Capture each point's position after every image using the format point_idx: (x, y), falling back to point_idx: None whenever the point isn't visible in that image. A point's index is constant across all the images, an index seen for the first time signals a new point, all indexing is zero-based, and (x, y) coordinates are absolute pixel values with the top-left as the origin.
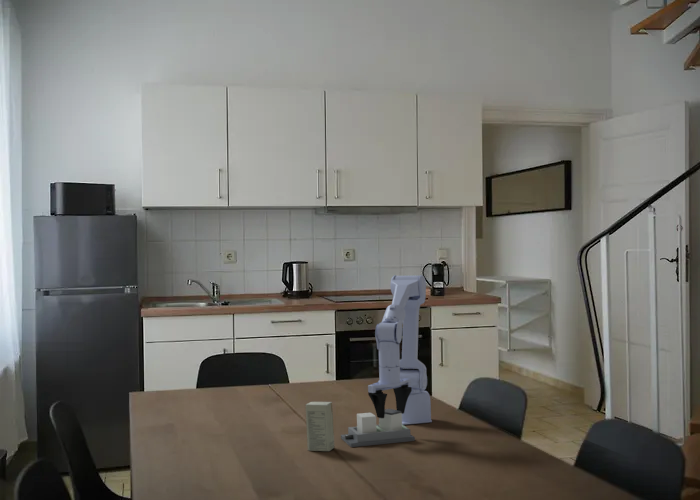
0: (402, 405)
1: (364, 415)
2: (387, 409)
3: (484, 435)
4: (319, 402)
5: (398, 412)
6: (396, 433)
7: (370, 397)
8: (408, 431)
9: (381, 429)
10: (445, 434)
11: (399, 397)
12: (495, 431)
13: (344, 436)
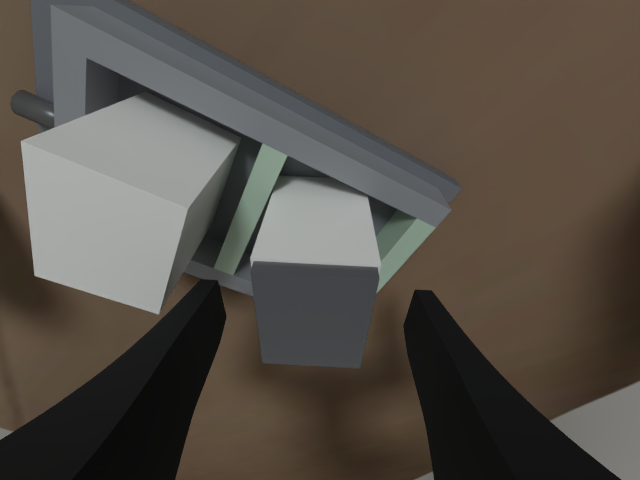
0: (419, 381)
1: (80, 245)
2: (341, 287)
3: (544, 386)
4: None
5: (332, 362)
6: None
7: (12, 439)
8: None
9: (242, 243)
10: (509, 318)
11: (453, 435)
12: (614, 385)
13: (45, 34)
